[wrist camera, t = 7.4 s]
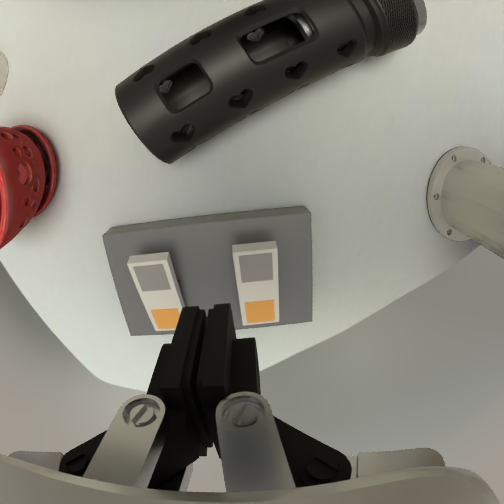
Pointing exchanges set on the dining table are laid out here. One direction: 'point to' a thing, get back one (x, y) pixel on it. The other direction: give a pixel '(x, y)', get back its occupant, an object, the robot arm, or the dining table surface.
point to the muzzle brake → (256, 65)
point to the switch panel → (216, 261)
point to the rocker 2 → (257, 281)
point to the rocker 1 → (157, 288)
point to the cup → (3, 71)
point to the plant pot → (23, 178)
